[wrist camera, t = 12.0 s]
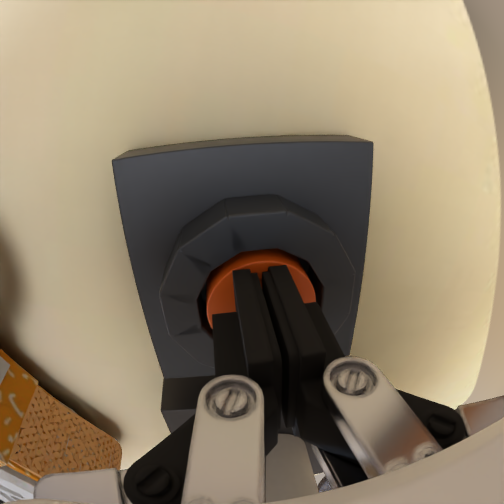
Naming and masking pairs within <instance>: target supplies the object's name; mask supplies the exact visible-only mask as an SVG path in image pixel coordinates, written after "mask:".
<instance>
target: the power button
mask: <svg viewBox="0 0 504 504" xmlns="http://www.w3.org/2000/svg"><path fill="white" fill-rule="evenodd" d="M279 265H286V266H287V267H288V270H289V272H290V274H291V276H292V278H293V280H294V282H295V284H296V287H297V289H298V291H299V293H300V295H301V297H302V300H303V302H304V303H311V302H316V296H315V291H314V288H313V285H312V283H311V281H310V280H309V278H308V276H307V274H306V272H305V270H304V269H303V267H302V265H301V263H300V261H299V260H298V258H297V256H294V255H292V254H290V253H287V252H285V251H283V250H280V249H278V248H275V249H265V250H255V251H245V252H240V253H239V254H237V255H236V256H234V257H232V258H231V259H229V260H228V261H226V262H225V263H223V264H222V265H220V266H219V267H217V268H215V269H214V270H212V271H211V272H210V274H209V276H208V278H207V281H206V299H207V317H208V321H209V324H210V326H211V328H212V329H213V327H212V314H219V313H229V312H236V307H235V297H234V286H233V275H232V270H241V269H250V271H251V273H257V274H258V277H259V280H260V284H261V287H262V272H266V271H268V267H270V266H279Z"/></svg>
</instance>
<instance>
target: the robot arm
mask: <svg viewBox="0 0 504 504" xmlns="http://www.w3.org/2000/svg"><path fill="white" fill-rule="evenodd" d="M232 275H233V286H234V297H235V307H236V312H229V313H219V314H212V327H213V346H214V363H215V378H214V379H213V380H211V381H210V382H208V383H207V384H206V385H205V386H204V387H203V388H202V389H201V392H200V394H199V397H198V403H197V409H196V413H195V414H194V415H193V416H192V417H190V418H189V419H188V420H187V421H186V422H185V423H183V424H182V425H181V426H180V427H179V428H177V429H176V430H175V431H174V432H173V433H171V434H170V435H169V436H168V437H166V438H165V439H164V440H163V441H162V442H160V443H159V444H158V445H157V446H155V447H154V448H153V449H152V450H150V451H149V452H148V453H146V454H145V455H144V456H143V457H141V458H140V459H139V460H137V461H136V462H135V463H134V464H133V465H132V466H131V467H130V468H129V469H125V470H119V471H118V470H117V469H116V468H109V469H101V470H92V471H81V472H69V473H52V474H48V475H44V476H43V477H42V478H40V479H39V480H38V481H37V483H36V485H35V486H34V492H33V499H26V500H17V501H11V502H6V503H3V504H504V396H500V397H496V398H492V399H488V400H484V401H479V402H475V403H470V404H465V405H460V406H458V407H457V409H456V410H454V409H452V408H450V407H448V406H445V405H442V404H439V403H436V402H433V401H429V400H426V399H423V398H420V397H417V396H415V395H412V394H409V393H406V392H403V391H400V390H397V389H395V388H394V387H393V385H392V384H391V383H390V382H389V380H388V379H387V378H386V377H385V375H384V374H383V373H382V372H381V370H380V369H379V368H378V367H377V366H376V365H375V364H374V363H373V362H371V361H369V360H367V359H364V358H360V357H354V356H347V357H345V356H344V354H343V352H342V350H341V348H340V346H339V344H338V342H337V340H336V338H335V336H334V334H333V332H332V330H331V328H330V326H329V324H328V322H327V320H326V318H325V316H324V314H323V312H322V310H321V309H320V307H319V305H318V303H317V302H311V303H304V302H303V300H302V297H301V295H300V293H299V291H298V289H297V287H296V284H295V282H294V280H293V278H292V276H291V274H290V272H289V270H288V267H287V266H286V265H279V266H270V267H268V271H266V272H262V287H261V284H260V280H259V277H258V274H257V273H251V271H250V269H241V270H232ZM281 413H282V417H283V421H284V424H285V427H286V428H291V427H292V429H293V433H294V437H297V436H300V437H301V439H302V440H304V441H306V442H308V443H310V444H311V447H312V450H313V452H314V454H315V456H316V458H317V460H318V462H319V464H320V466H321V468H322V470H323V472H324V474H325V476H326V478H327V480H328V482H329V484H330V486H331V487H332V489H333V490H330V491H325V492H321V493H317V494H313V495H308V496H303V497H298V498H293V499H287V500H282V501H275V502H269V503H266V456H267V455H268V454H269V453H270V452H271V450H272V449H273V448H274V447H275V446H276V445H277V443H278V430H279V429H280V428H281Z"/></svg>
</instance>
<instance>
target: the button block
mask: <svg viewBox="0 0 504 504" xmlns="http://www.w3.org/2000/svg"><path fill="white" fill-rule="evenodd" d="M112 166H113V173H114V179H115V185H116V191H117V197H118V203H119V208H120V214H121V219H122V224H123V229H124V234H125V239H126V243H127V248H128V252H129V257H130V261H131V265H132V270H133V274H134V278H135V282H136V286H137V290H138V293H139V297H140V301H141V305H142V308H143V312H144V315H145V319H146V322H147V326H148V329H149V333H150V336H151V339H152V342H153V346H154V349H155V352H156V355H157V358H158V361H159V364H160V367H161V370H162V373H163V376H164V378H165V379H168V378H185V377H199V376H211V375H215V363H214V346H213V329H212V328H211V326H210V324H209V321H208V317H207V299H206V281H207V278H208V276H209V274H210V272H211V271H212V270H214V269H215V268H217V267H219V266H220V265H222V264H223V263H225V262H226V261H228V260H229V259H231V258H232V257H234V256H236V255H237V254H239V253H240V252H245V251H255V250H265V249H275V248H278V249H280V250H283V251H285V252H287V253H290V254H292V255H294V256H297V258H298V260H299V261H300V263H301V265H302V267H303V269H304V270H305V272H306V274H307V276H308V278H309V280H310V281H311V283H312V285H313V288H314V291H315V296H316V302H317V303H318V305H319V307H320V309H321V310H322V312H323V314H324V316H325V318H326V320H327V322H328V324H329V326H330V328H331V330H332V332H333V334H334V336H335V338H336V340H337V342H338V344H339V346H340V348H341V350H342V352H343V354H344V356H348V355H349V354H350V349H351V344H352V339H353V334H354V328H355V322H356V317H357V311H358V304H359V298H360V291H361V284H362V277H363V270H364V262H365V253H366V245H367V235H368V225H369V214H370V201H371V186H372V168H373V142H371V141H368V140H364V139H360V138H357V137H353V136H349V135H295V136H266V137H248V138H233V139H220V140H209V141H199V142H189V143H180V144H172V145H164V146H157V147H150V148H143V149H136V150H130V151H127V152H125V153H123V154H122V155H120V156H118V157H116V158H115V159H113V160H112Z"/></svg>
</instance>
